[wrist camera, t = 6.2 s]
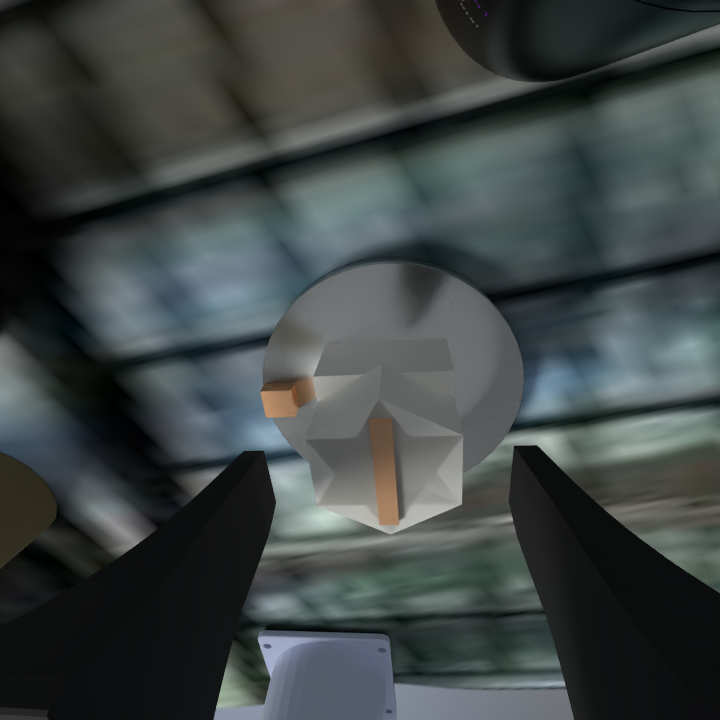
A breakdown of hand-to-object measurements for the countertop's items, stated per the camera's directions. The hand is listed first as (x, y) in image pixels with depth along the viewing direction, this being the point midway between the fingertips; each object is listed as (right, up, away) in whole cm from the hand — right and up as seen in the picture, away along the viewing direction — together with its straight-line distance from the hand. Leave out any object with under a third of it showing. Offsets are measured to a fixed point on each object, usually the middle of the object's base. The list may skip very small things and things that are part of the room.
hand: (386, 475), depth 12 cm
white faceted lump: (0, +2, +4) cm, 5 cm away
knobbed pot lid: (0, +3, +5) cm, 6 cm away
